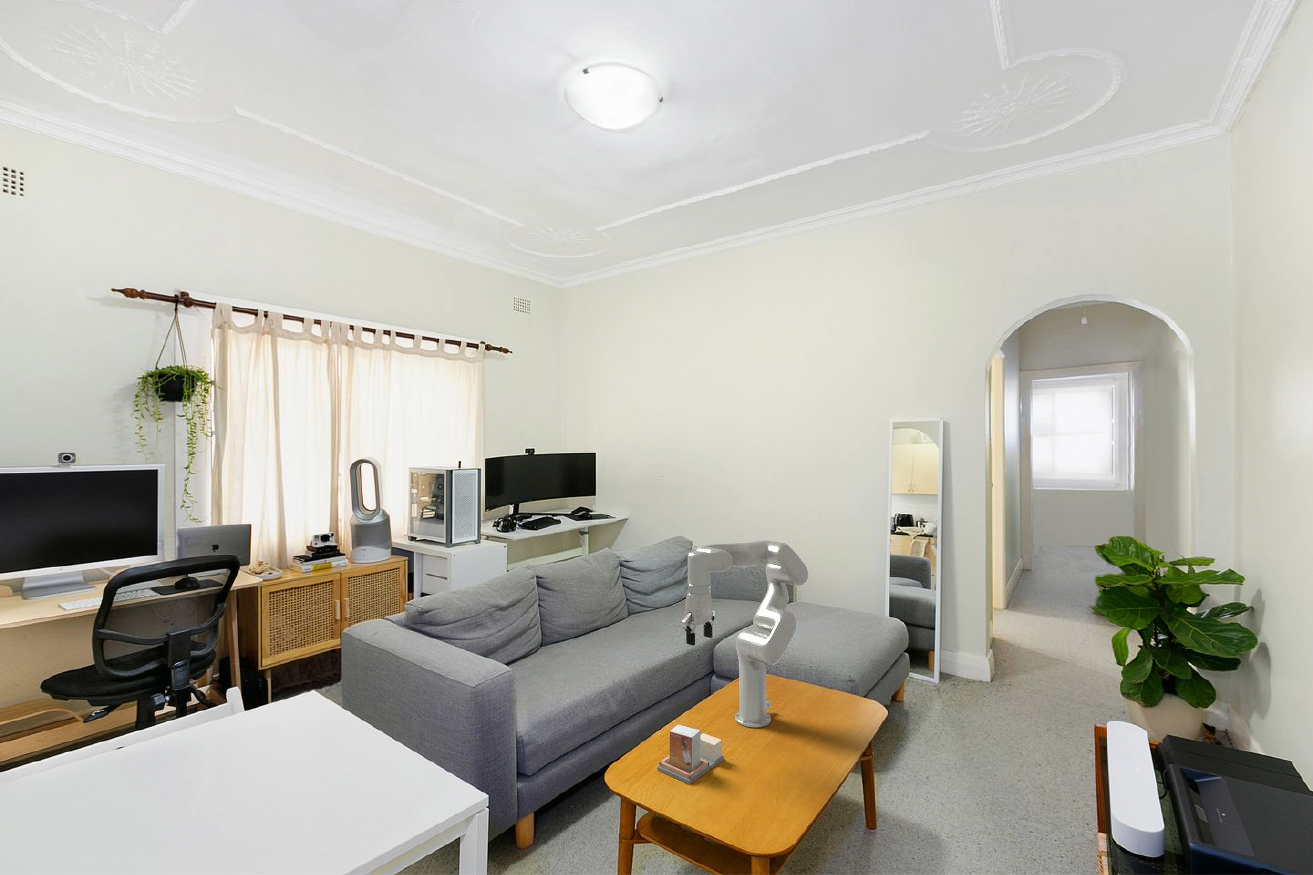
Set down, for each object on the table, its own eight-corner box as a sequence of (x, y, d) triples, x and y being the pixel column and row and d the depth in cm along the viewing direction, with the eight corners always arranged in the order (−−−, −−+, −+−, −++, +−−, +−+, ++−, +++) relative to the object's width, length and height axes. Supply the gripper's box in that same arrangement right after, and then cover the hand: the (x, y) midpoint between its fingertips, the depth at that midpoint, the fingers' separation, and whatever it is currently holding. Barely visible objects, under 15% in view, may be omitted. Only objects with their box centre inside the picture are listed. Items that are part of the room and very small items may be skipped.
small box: (668, 765, 179) (668, 730, 179) (678, 757, 183) (677, 723, 184) (692, 773, 174) (692, 737, 175) (701, 764, 179) (700, 729, 179)
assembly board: (693, 746, 192) (692, 728, 192) (723, 759, 184) (723, 739, 184) (657, 769, 178) (657, 749, 178) (689, 784, 171) (688, 763, 171)
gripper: (705, 582, 205) (705, 632, 205) (674, 592, 192) (674, 645, 192) (723, 585, 200) (723, 636, 200) (692, 595, 187) (693, 650, 187)
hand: (699, 640), depth 196 cm, fingers open, 9 cm apart
